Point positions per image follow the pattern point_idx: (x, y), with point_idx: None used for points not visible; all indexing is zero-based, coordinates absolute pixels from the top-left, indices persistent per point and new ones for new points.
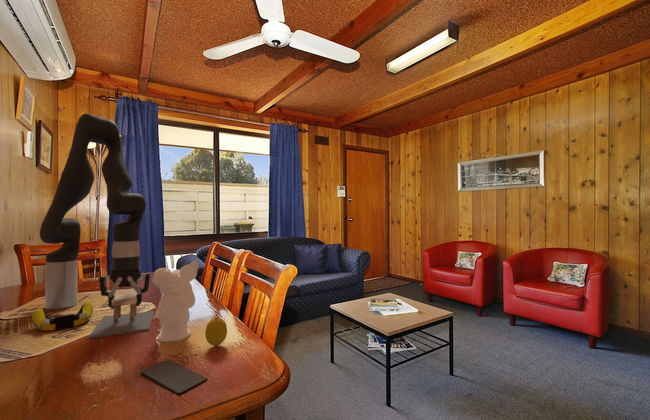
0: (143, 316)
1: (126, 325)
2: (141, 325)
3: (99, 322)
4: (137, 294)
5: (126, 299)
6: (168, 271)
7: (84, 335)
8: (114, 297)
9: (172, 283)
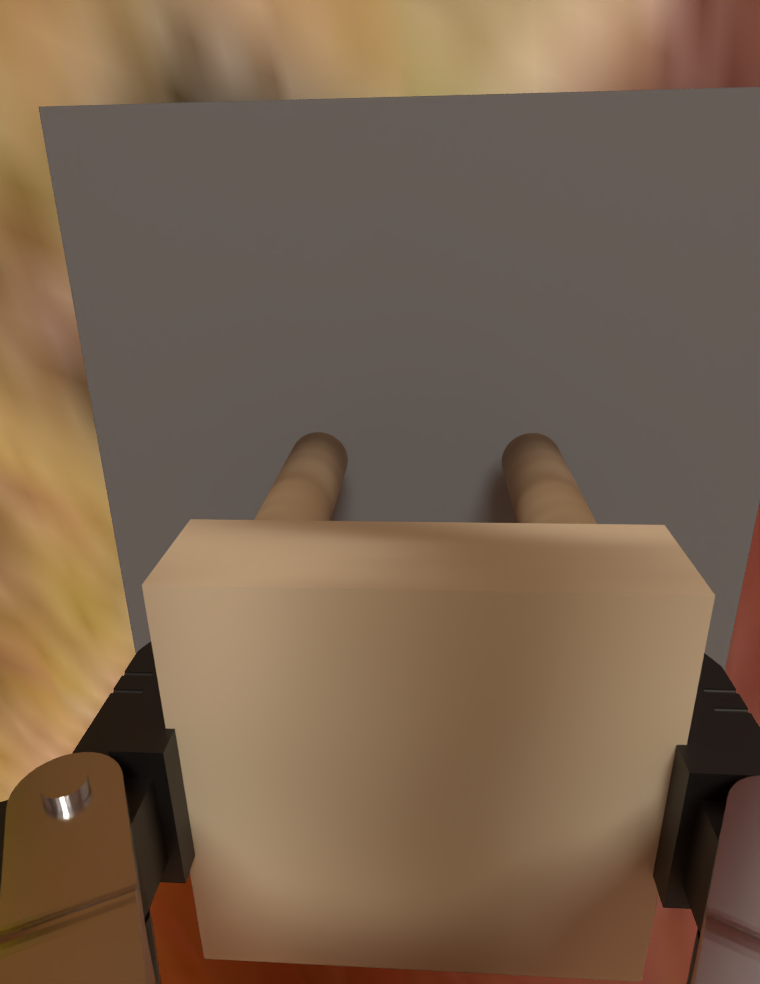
0: (646, 373)
1: None
2: None
3: (97, 413)
4: (690, 891)
5: (464, 962)
6: None
7: (96, 701)
8: (180, 769)
9: None
